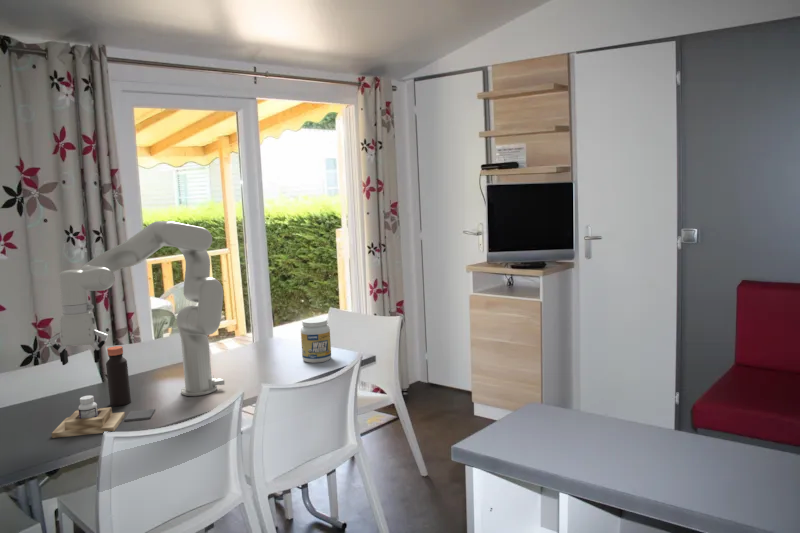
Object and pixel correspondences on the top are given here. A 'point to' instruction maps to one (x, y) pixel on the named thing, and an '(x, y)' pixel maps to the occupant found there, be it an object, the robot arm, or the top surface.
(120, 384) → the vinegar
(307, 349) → the supplement tub
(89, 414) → the pill bottle
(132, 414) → the mat
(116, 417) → the housing
